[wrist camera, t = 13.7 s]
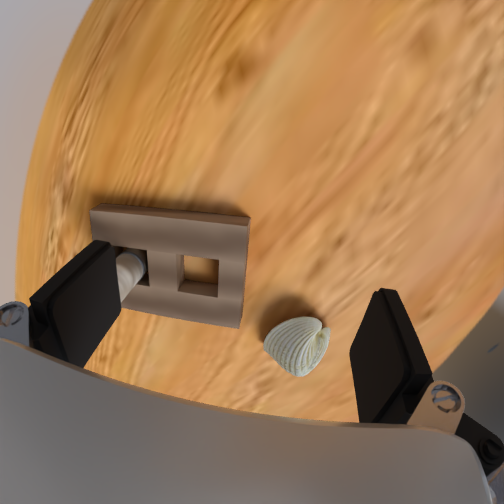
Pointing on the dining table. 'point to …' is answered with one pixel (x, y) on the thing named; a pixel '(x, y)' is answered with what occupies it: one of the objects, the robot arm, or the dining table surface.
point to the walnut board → (180, 260)
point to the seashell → (298, 344)
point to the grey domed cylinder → (130, 269)
